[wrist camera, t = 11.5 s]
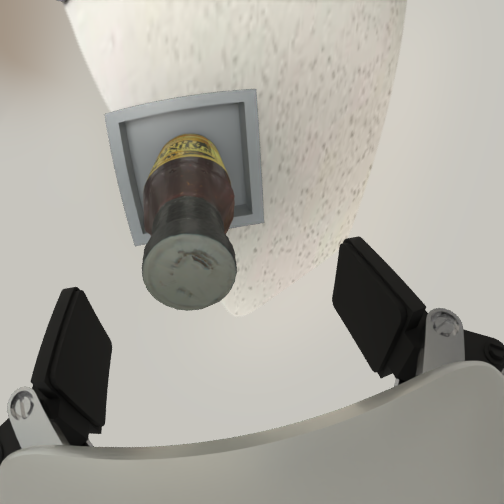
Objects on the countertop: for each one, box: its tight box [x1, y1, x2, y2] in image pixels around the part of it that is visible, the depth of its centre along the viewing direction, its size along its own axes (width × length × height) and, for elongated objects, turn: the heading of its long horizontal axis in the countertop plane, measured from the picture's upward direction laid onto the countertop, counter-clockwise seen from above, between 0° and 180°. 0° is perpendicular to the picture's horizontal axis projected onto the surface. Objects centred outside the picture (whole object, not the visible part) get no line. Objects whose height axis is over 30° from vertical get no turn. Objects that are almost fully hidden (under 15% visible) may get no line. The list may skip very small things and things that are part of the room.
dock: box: [105, 89, 264, 246], centre depth 27 cm, size 14×14×4 cm
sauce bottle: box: [142, 134, 237, 310], centre depth 19 cm, size 7×6×20 cm
